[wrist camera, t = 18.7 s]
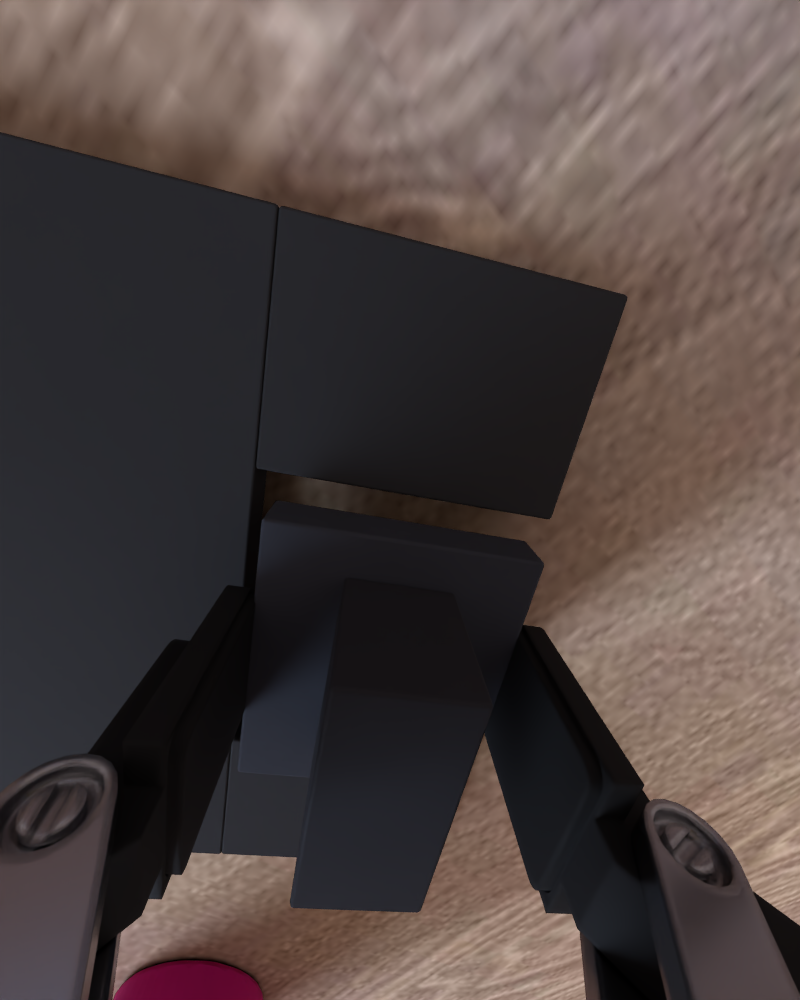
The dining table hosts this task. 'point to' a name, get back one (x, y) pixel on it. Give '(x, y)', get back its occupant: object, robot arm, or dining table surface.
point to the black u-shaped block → (234, 421)
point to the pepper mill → (190, 983)
